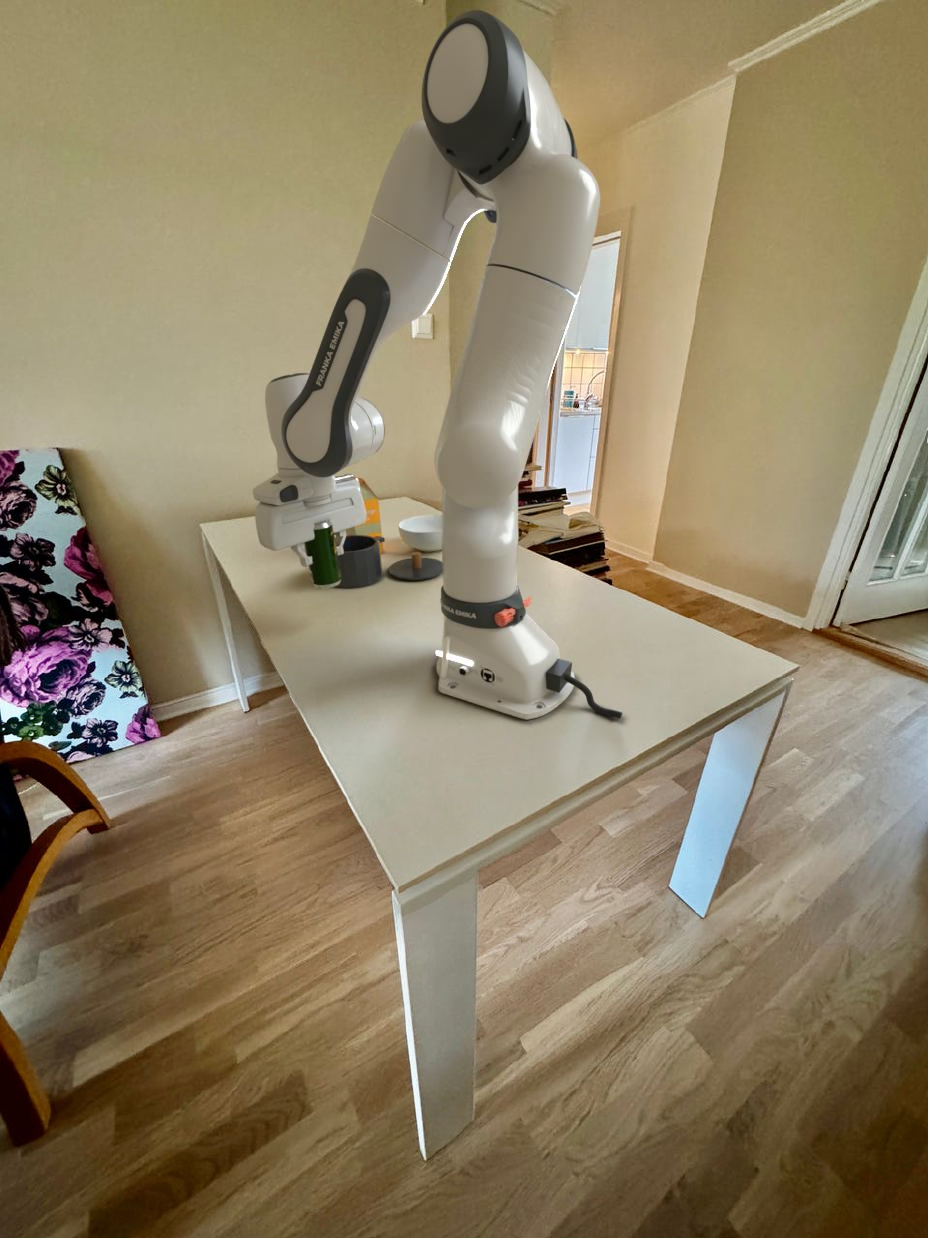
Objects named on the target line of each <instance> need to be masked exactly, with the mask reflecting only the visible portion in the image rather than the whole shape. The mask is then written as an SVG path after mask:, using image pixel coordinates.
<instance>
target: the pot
mask: <svg viewBox="0 0 928 1238" xmlns="http://www.w3.org/2000/svg"><path fill="white" fill-rule="evenodd" d="M385 541H386V540H385V537H384V536H382V537H380V536H376V537H372V536H366V535H348V536H346V538H345V541H344V544H343V551H344V554H342V555H339V556H338V559H339V565H340V571H341V577H342V578H341V581H340V584H338V585H337V586H335V588H340V589H358V588H364V587H368V586H372V585H374V584H376V583H378V582H379V581H380V580H382V578H383V566H382V565H383V564H382V555H381V554H382V553H380V543H382V544H383V543H384V542H385Z"/></svg>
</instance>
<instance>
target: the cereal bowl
mask: <svg viewBox="0 0 928 1238" xmlns="http://www.w3.org/2000/svg"><path fill="white" fill-rule="evenodd" d="M397 527H398V533H399V537H400V539H401V540H402V542H403V543H404V544H405V545H407V546H408V547H411V548H414V549H417V550H418V551H421V552H428V553H429V552H430V553H431V552H438V551H442V514H422V515H421V514H420V515H414V516H411V517H408V518H405V519H402V520H401V521H400V522H399V523H398V525H397Z"/></svg>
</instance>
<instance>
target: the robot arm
mask: <svg viewBox="0 0 928 1238" xmlns="http://www.w3.org/2000/svg"><path fill="white" fill-rule="evenodd" d="M421 110H422V111H421V112H422V116H423V119H420V120H416V121H414V122H412V123H411V124H409V125H408V126H407V128H405V130H404V131H403V133H402V135H401V136H400V138H399V140H398V143H397V145H396V147H395V148H394V151H393V153H392V155H391V158H390V159H389V162H388V164H387V167H386V169H385V171H384V174H383V175H382V178H381V182H380V184H379V188H378V190H377V193H376V196H375V199H374V202H373V206H372V209H371V212H370V216H369V219H368V221H367V224H366V225H367V226H366V229H365V232H364V236H363V239H362V242H361V245H360V247H359V249H358V252H357V256H356V259H355V262H354V264H353V267H352V268H351V271H350V273H349V275H348V277H347V279H346V281H345V283H344V285H343V287H342V289H341V291H340V293H339V295H338V298H337V299H336V302H335V305H334V307H333V310H332V312H331V314H330V317H329V321H328V322H327V325H326V328H325V330H324V334H323V336H322V339H321V341H320V344H319V347H318V350H317V353H316V355H315V358H314V361H313V364H312V366H311V369H310V372H309V373H308V372H296V373H293V374H286V375H285V374H284V375H282V376H278V377H276V378H274V379H272V380H270V381H269V382H268V383H267V385H266V387H265V390H264V391H265V393H264V404H265V405H264V406H265V413H266V419H267V425H268V430H269V434H270V439H271V441H272V443H273V446H274V447H275V450H276V469H277V473H275V474H274V475H273V476H271V477H269V478H268V479H266V480H264V481H263V482H262V483H260V484H257V485H256V486H255V487H254V488H253V489H252V496H253V499H254V500H255V501H256V502H259V503H257V505H256V506H255V510H254V519H255V526H256V527H255V528H256V532H257V537H258V541H259V543H260V545H261V546H262V547H264V548H265V549H267V550H270V551H272V552H278V551H282V550H285V549H288V548H290V549H291V550H292V551H293V552H294V553H295V554H296V556H298V557H299V563H300V565H301V567H304V568H309V566H311V565H313V561H312V560H313V558H312V556H311V555H308V554H306V551H304V550H305V545H304V542H307V541H311V540H313V539H314V537H315V535H314V527H315V525H314V523H319V522H321V521H327V520H328V519H330V522H331V523H332V526H333V532H334V536H335V542H336V548H337V553H338V556H339V555H342V554H344V551H343V544H344V541H345V538H346V529H349V528H352V527H355V526H359V525H362V524H364V523H365V521H366V518H367V515H366V509H365V505H364V501H363V498H362V494H361V492H360V484H359V480H358V479H357V478H356V477H357V476H354V475H352V474H351V473H346V474H343V475H337V476H335V474H337V473H339V472H341V471H342V470H344V469H345V468H348V467H350V466H352V465H356V464H358V463H359V462H361V461H364V460H366V459H369V458H370V457H371V456H373V455H375V454H376V453H377V452H378V451H379V450H380V449H381V447H382V445H383V443H384V440H385V435H386V434H385V433H386V427H385V423H384V418H383V416H382V415H381V413H380V411H379V409H378V407H376V406H375V404H374V403H372V402H371V401H370V400H368V399H367V398H364V397H359V396H358V395H359V393H360V390H361V388H362V385H363V383H364V380H365V378H366V375H367V373H368V370H369V368H370V365H371V363H372V361H373V358H374V356H375V355H376V352H377V351H378V350H379V348H380V347H381V345H382V344H383V343H384V342H385V340H386V339H387V338H389V337H390V336H391V335H392V334H393V333H395V332H396V331H398V330H400V329H401V328H402V327H404V326H406V325H408V324H409V323H411V322H414V321H416V320H417V319H419V318H421V317H422V316H424V315H426V314H427V312H428V311H429V309H430V308H431V306H432V304H433V303H434V301H435V299H436V298H437V296H438V294H439V292H440V291H441V289H442V286H443V284H444V282H445V281H446V278H447V274H448V272H449V270H450V268H451V267H450V266H451V265H452V263H451V262H452V261H453V258H454V256H455V253H456V250H457V246H458V244H459V242H460V239H461V236H462V234H463V231H464V229H465V228H466V225H467V224H468V222H470V220H471V219H472V218H473V217H474V216H475V215H477V214H478V213H482V212H483V213H484V215H485V217H486V220H488V222H490V223H492V224H495V230H494V234H493V240H492V242H491V247H490V250H489V253H488V257H487V261H486V263H485V267H484V272H483V275H482V279H481V283H480V287H479V290H478V293H477V298H476V302H475V306H474V310H473V314H472V317H471V321H470V325H469V327H468V328H469V329H468V332H467V335H466V336H467V337H466V339H465V344H464V347H463V351H462V354H461V357H460V360H459V363H458V368H457V371H456V374H455V377H454V381H453V385H452V388H451V392H450V394H449V398H448V402H447V406H446V409H445V413H444V417H443V420H442V423H441V427H440V430H439V434H438V438H437V442H436V446H435V449H434V455H433V456H434V457H433V463H434V469H435V470H434V471H435V475H436V477H437V480H438V482H439V484H440V486H441V487H442V488H441V489H442V490H441V491H442V492H441V493H442V494H441V496H442V499H441V501H442V503H441V505H442V506H441V515H442V550H441V562H442V564H443V573H442V583H443V584H442V585H441V587H440V599H439V601H440V610H441V613H442V615H443V624H442V635H441V645H440V650H436V651H435V655H436V656H438V659H437V662H436V665H435V666H436V667H435V669H436V673H437V675H438V678H439V679H438V685H437V686H438V687H437V689H438V692H439V693H441V694H444V695H447V696H450V697H453V698H456V699H459V700H462V701H466V702H469V703H472V704H475V705H478V706H481V707H484V708H487V709H490V710H493V711H497V712H500V713H503V714H505V715H509V716H512V717H514V718H515V717H516V718H518V719H522V720H526V721H527V720H533V719H536V718H540V717H542V716H544V715H547V714H548V713H550V712H552V711H554V710H555V709H556V708H558V707H559V706H560V705H562V703H563V702H564V701H565V700H566V699H567V698H568V697H569V696H570V694H571V693H572V692H573V690H574V687H575V688H577V689H579V691H581V692H582V693H583V694H584V695H585V698H586V702H587V704H588V706H589V708H591V709H592V710H593V711H594V712H596V713H598V714H600V715H603V716H607V717H613V718H616V719H619V720H621V719H622V717H623V712H622V711H619V710H615V709H611V708H606V707H604V706H601V705H599V704H597V702H595V699H594V696H593V693H592V691H591V689H590V688H588V687H589V686H587V685H586V684H585V683H583V682H582V681H580V680H578V679H577V678H575V672H573V670H572V668H573V662H572V661H569V660H565V659H562V658H561V654H560V648H559V647H558V644H557V643H556V642H555V641H554V640H553V639H552V638H551V637H550V636H549V635H548V634H547V633H546V632H545V631H544V630H543V628H541V627H540V626H539V624H537V622H535V620H533V618H532V617H530V615H529V614H528V613H527V609H526V608H528V607H529V606H531V604H532V603H533V602H532V601H531V600H532V599H533V597H532V596H528V597H527V598H525V599H523V596H522V592H521V591H520V588H519V585H518V583H517V582H518V560H519V483H520V481H521V479H522V477H523V474H524V471H525V467H526V464H527V462H528V458H529V455H530V452H531V448H532V445H533V442H534V439H535V435H536V432H537V428H538V426H539V425H538V424H539V421H540V418H541V414H542V411H543V407H544V402H545V400H546V395H547V392H548V388H549V384H550V381H551V377H552V374H553V370H554V367H555V364H556V362H557V359H558V356H559V353H560V350H561V347H562V344H563V342H564V339H565V335H566V333H567V330H568V328H569V324H570V321H571V319H572V317H573V316H572V315H573V312H574V309H575V306H576V304H577V302H578V301H577V300H578V298H579V295H580V292H581V288H582V285H583V282H584V279H585V276H586V272H587V268H588V266H589V261H590V258H591V252H592V249H593V244H594V240H595V236H596V235H595V234H596V230H597V226H598V219H599V215H600V214H599V213H600V207H601V191H600V186H599V183H598V181H597V178H596V176H595V175H594V174H593V172H592V171H591V169H589V167H588V166H587V165H586V164H585V163H583V162H582V161H581V160H580V159H579V158H578V150H577V144H576V140H575V137H574V133H573V129H572V128H571V126H570V124H569V122H568V120H567V119H566V118H565V117H564V115H563V113H562V111H561V108H560V106H559V104H558V103H557V101H556V98H555V96H554V95H553V91H552V89H551V86H550V84H549V82H548V81H547V79H546V77H545V76H544V74H543V72H542V71H541V70H540V69H539V67H538V65H536V63H535V62H534V61H533V59H532V58H531V57H530V56H529V55H528V54H527V52H526V51H525V50H524V49H523V47H522V44H521V42H520V40H519V38H518V36H517V35H516V34H515V33H514V32H513V30H511V29H510V27H508V25H506V24H505V23H504V22H503V21H502V20H500V19H499V18H497V17H496V16H494V15H493V14H491V13H489V12H487V11H484V10H481V9H472V10H468V11H466V12H462V13H461V14H460V15H458V16H457V17H455V18H454V19H453V20H451V22H450V23H448V24H447V26H446V27H445V28H444V29H443V30H442V32H440V35H439V36H438V38H437V40H436V41H435V43H434V45H433V47H432V49H431V52H430V54H429V56H428V59H427V61H426V65H425V69H424V72H423V78H422V84H421ZM352 478H354V479H352Z"/></svg>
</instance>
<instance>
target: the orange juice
mask: <svg viewBox="0 0 928 1238" xmlns="http://www.w3.org/2000/svg"><path fill="white" fill-rule="evenodd" d="M355 477H356V478H357V479H358V480H359V484H360V492H361V494H362V498H363V501H364V505H365V509H366V515H367V518H366V521H365V523H364V524H362V525H359V526H355V527H352V528H349V529H346V536H348V535H366V536H372V537H376V536H380V537H383V535H382V522H381V514H380V503H379V498H378V497H377V494H375V492H374V491H373V490H372V489H371V487H370V486H369V485H368V483H367V482H366V481H365V480H364V478H361V477H357V476H355ZM352 479H354V478H352ZM380 553H381V554H383V553H384V546H383V542H382V543H380Z"/></svg>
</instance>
